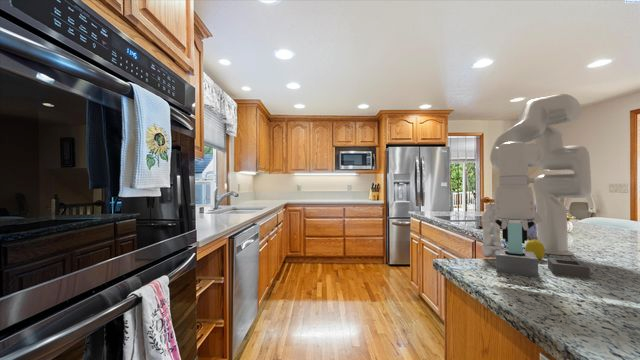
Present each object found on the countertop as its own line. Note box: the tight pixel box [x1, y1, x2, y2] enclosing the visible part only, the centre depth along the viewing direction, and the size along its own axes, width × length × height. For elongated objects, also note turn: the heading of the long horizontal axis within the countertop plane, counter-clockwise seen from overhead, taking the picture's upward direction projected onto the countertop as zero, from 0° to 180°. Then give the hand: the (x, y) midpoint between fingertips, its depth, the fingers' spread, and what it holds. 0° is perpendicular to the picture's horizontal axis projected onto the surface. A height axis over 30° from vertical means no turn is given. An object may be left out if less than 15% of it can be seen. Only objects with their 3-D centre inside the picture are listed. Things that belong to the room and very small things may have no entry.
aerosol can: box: [521, 203, 537, 238], centre depth 150 cm, size 8×8×20 cm
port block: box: [495, 248, 539, 278], centre depth 85 cm, size 10×10×6 cm
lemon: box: [524, 238, 546, 261], centre depth 98 cm, size 6×6×8 cm
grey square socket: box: [547, 257, 591, 280], centre depth 82 cm, size 8×8×4 cm
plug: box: [506, 219, 523, 254], centre depth 85 cm, size 4×4×10 cm
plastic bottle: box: [481, 203, 502, 259], centre depth 103 cm, size 6×7×20 cm
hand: (514, 241), depth 85 cm, fingers closed on plug, 3 cm apart
